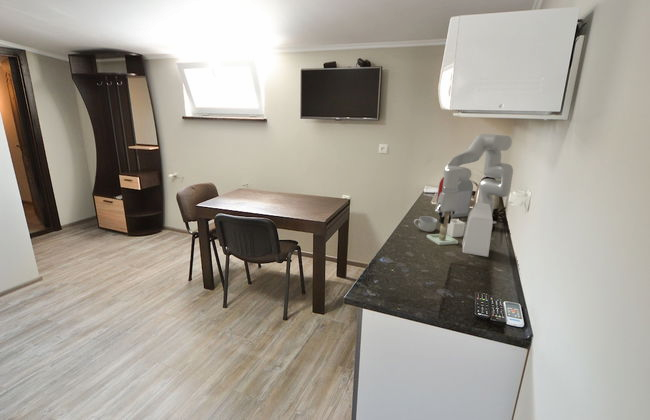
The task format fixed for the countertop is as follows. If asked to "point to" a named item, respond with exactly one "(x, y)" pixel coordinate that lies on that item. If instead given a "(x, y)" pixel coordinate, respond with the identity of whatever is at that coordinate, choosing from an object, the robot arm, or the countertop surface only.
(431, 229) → the teacup
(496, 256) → the countertop surface
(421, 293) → the countertop surface
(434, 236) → the tray
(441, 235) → the dowel
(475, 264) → the countertop surface
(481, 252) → the milk
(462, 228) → the open box
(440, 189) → the red and white block
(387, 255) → the countertop surface
